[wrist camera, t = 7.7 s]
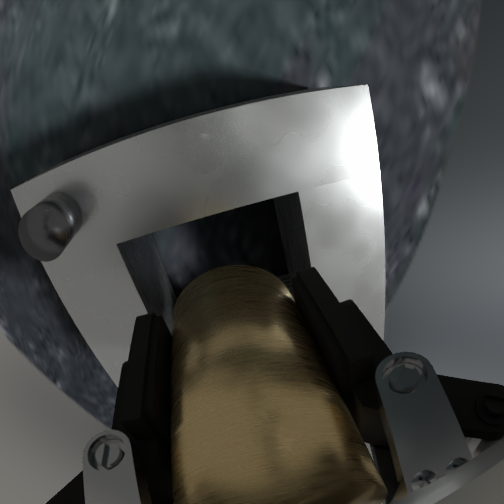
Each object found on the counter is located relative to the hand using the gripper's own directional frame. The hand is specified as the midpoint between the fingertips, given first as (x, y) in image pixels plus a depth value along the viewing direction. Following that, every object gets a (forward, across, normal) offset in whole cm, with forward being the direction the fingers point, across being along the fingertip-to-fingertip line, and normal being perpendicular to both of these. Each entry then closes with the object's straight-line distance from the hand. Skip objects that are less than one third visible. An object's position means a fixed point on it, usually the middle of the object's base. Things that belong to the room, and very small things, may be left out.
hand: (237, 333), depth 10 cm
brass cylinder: (+1, 0, 0) cm, 1 cm away
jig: (+7, 0, 0) cm, 7 cm away
